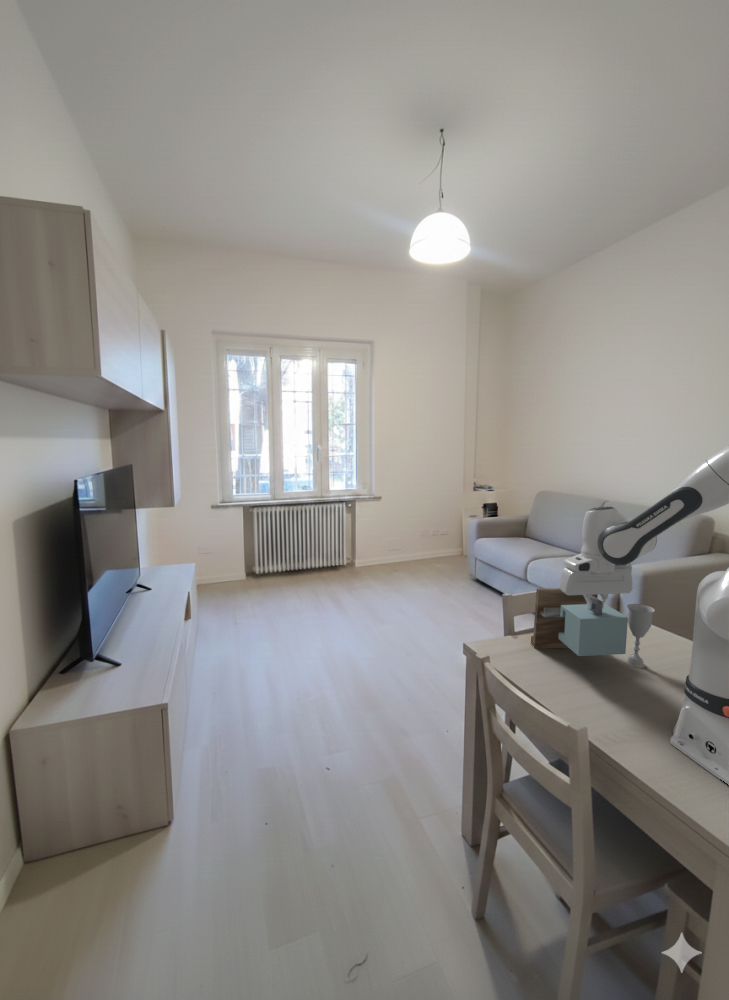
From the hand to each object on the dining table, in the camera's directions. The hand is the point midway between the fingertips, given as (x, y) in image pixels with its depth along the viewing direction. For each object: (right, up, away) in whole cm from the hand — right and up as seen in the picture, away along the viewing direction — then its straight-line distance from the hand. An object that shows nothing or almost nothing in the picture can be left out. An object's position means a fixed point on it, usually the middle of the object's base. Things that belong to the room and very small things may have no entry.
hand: (594, 608), depth 130 cm
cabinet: (0, -12, +3) cm, 12 cm away
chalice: (+16, -19, +7) cm, 26 cm away
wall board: (-1, -17, +17) cm, 24 cm away
